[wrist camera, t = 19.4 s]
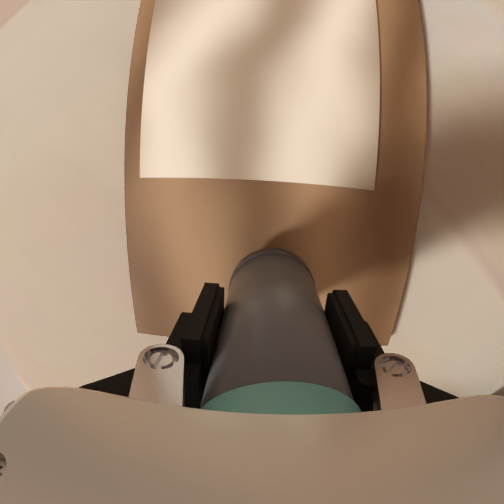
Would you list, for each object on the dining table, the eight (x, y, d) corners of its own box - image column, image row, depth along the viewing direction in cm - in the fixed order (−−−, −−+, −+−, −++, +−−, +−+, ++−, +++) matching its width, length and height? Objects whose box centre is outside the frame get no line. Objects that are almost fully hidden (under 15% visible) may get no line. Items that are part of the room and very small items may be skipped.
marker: (319, 249, 14) (434, 493, 3) (308, 325, 15) (353, 557, 4) (230, 244, 14) (141, 502, 3) (228, 321, 15) (182, 556, 4)
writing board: (409, -18, 11) (415, -24, 10) (383, 338, 18) (388, 347, 17) (155, -37, 11) (150, -44, 10) (141, 325, 18) (136, 334, 17)
